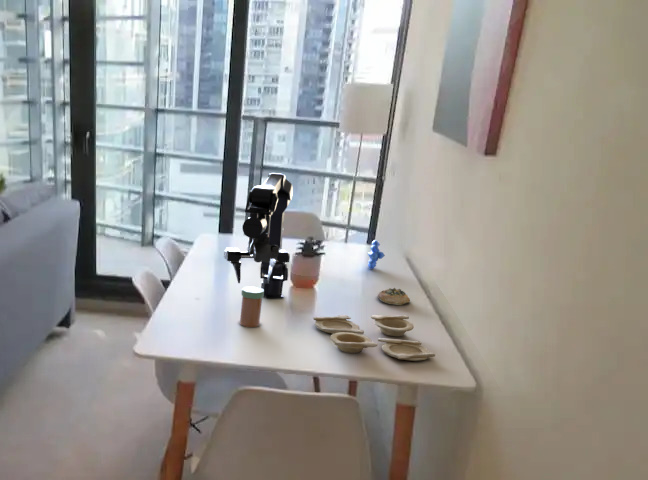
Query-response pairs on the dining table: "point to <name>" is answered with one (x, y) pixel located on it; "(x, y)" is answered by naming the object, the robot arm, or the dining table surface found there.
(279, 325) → the dining table surface
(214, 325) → the dining table surface
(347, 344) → the tableware set
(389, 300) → the bread roll
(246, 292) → the lid
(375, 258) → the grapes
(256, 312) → the jar
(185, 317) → the dining table surface
